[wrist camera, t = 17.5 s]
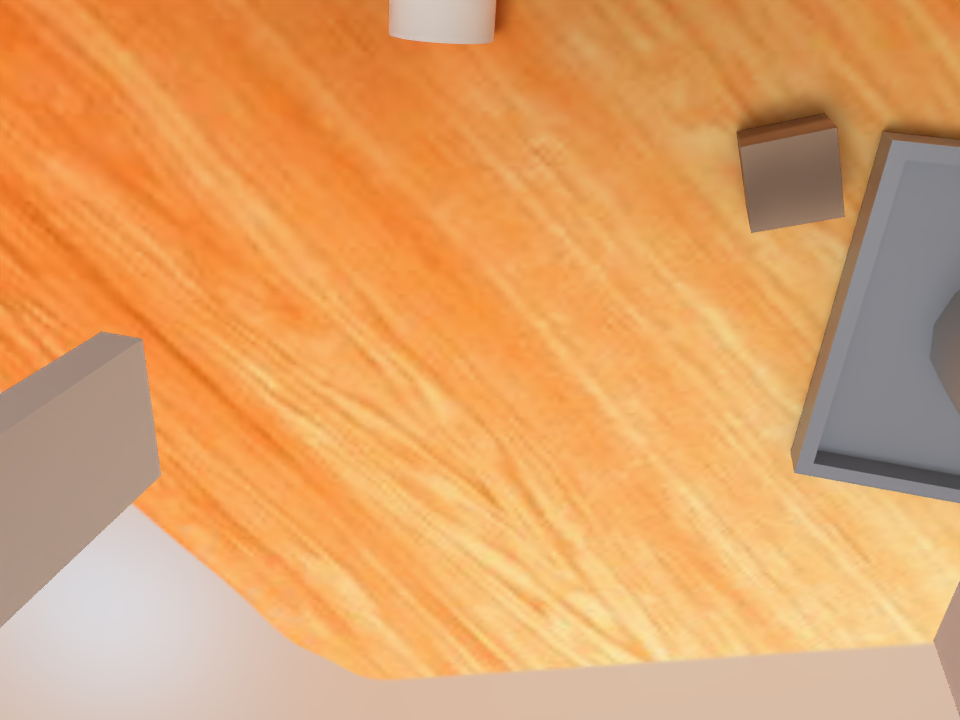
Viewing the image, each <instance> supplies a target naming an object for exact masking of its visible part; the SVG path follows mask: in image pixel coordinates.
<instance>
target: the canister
mask: <svg viewBox="0 0 960 720" xmlns="http://www.w3.org/2000/svg"><path fill="white" fill-rule="evenodd" d="M495 14H496V0H389V35H390V36H393V37H397V38H401V39H407V40H414V41H423V42H434V43H449V44H485V43H491V42H494V29H495Z"/></svg>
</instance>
